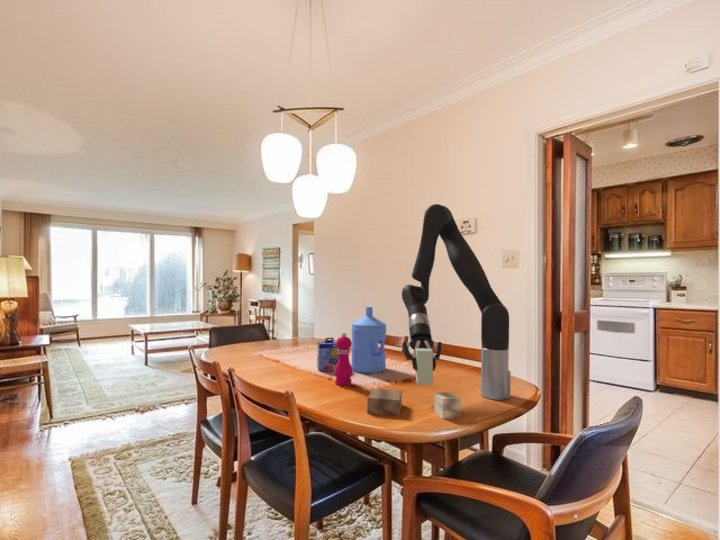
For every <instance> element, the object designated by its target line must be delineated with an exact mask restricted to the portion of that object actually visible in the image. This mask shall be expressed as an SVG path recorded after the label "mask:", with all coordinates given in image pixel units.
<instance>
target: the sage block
mask: <svg viewBox="0 0 720 540" xmlns="http://www.w3.org/2000/svg"><path fill="white" fill-rule="evenodd" d="M431 349H432V348H431ZM431 349H430V348H416V359H417V371H415V382H416V384H417V385H433V384H434V373H433V372H434V371H433V355H432V351H433V349H432V350H431Z"/></svg>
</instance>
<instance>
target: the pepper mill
mask: <svg viewBox="0 0 720 540" xmlns="http://www.w3.org/2000/svg"><path fill="white" fill-rule="evenodd" d="M336 341H337V342H336V345H337V347H338V349H337V350H338V354H339V359H338V363H337V365H336V367H335V370H333V373H334V376H335V377H336V378H335V385H337V386H340V387H347V386H350V385H352V378H351V377H352V376H353V375H354V374H353V373H354V372H353V371H354V370H352V367H351V363H350V353H351V347H352V339H351V338H350V337H348V336H347V333H346V332H342V333H341V336H340V337H338V338H337V340H336Z"/></svg>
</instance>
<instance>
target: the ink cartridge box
mask: <svg viewBox="0 0 720 540" xmlns="http://www.w3.org/2000/svg"><path fill="white" fill-rule="evenodd" d="M336 342H337V340H334V337H326V338H325V340H324V341H317V357H316V359H317V361H316V362H317V365H316V368H317V370H318V372H323V371H324V372H325V371H327V372H328V371H335V367H336V365H337V363H338V359H339V354H338V350H337V349H338V347H337V345H336Z"/></svg>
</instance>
